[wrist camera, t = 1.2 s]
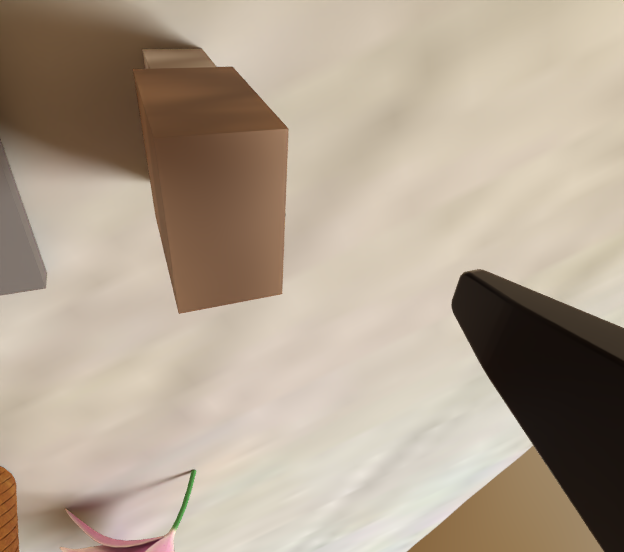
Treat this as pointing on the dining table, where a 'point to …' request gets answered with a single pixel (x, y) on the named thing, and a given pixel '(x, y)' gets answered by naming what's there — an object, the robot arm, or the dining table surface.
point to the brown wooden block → (213, 178)
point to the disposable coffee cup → (8, 513)
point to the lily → (154, 548)
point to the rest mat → (16, 239)
